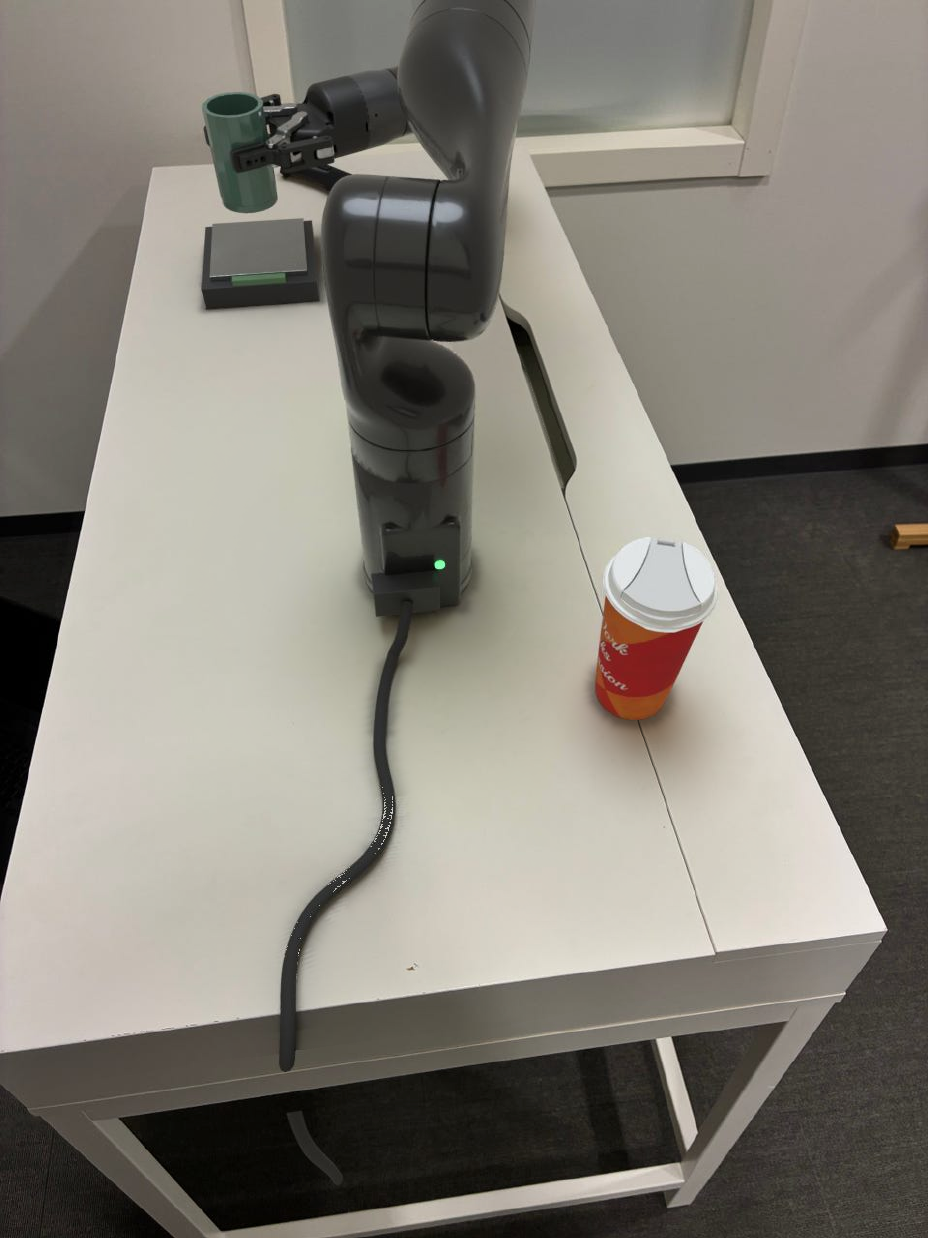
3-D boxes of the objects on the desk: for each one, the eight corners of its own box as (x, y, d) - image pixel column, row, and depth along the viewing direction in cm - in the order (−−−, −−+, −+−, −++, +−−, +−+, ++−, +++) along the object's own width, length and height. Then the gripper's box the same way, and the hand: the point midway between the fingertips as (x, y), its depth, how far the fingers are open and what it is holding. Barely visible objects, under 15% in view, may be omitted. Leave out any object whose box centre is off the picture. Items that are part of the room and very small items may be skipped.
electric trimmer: (365, 212, 116) (364, 188, 113) (278, 177, 121) (274, 153, 119) (383, 201, 118) (382, 177, 115) (296, 166, 123) (293, 143, 120)
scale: (319, 300, 102) (316, 275, 100) (206, 309, 101) (199, 283, 99) (314, 239, 111) (311, 214, 108) (209, 246, 110) (203, 221, 107)
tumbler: (278, 211, 98) (262, 115, 90) (221, 215, 97) (200, 118, 89) (277, 184, 101) (262, 90, 94) (223, 188, 101) (203, 93, 93)
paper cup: (587, 643, 72) (611, 522, 61) (682, 659, 71) (724, 540, 60) (575, 723, 67) (599, 608, 56) (676, 742, 66) (721, 629, 55)
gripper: (322, 54, 100) (184, 87, 94) (386, 99, 93) (240, 138, 87) (330, 124, 106) (200, 159, 100) (390, 172, 99) (254, 212, 93)
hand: (219, 149), depth 94 cm, fingers closed on tumbler, 6 cm apart
